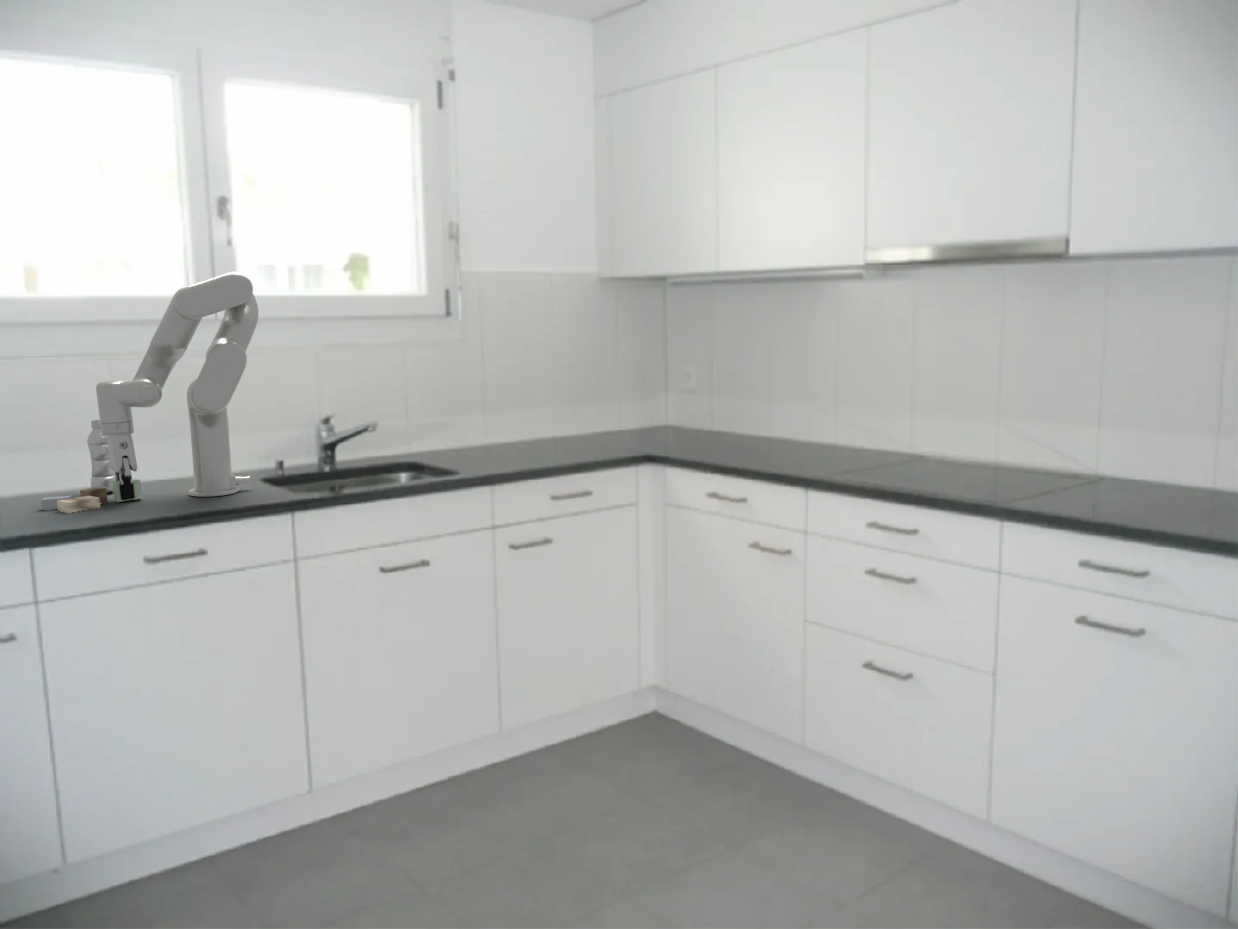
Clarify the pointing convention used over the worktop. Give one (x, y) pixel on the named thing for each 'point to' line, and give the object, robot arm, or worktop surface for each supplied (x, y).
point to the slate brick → (52, 502)
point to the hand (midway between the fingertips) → (126, 497)
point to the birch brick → (78, 504)
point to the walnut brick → (95, 493)
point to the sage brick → (136, 490)
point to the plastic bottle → (100, 459)
